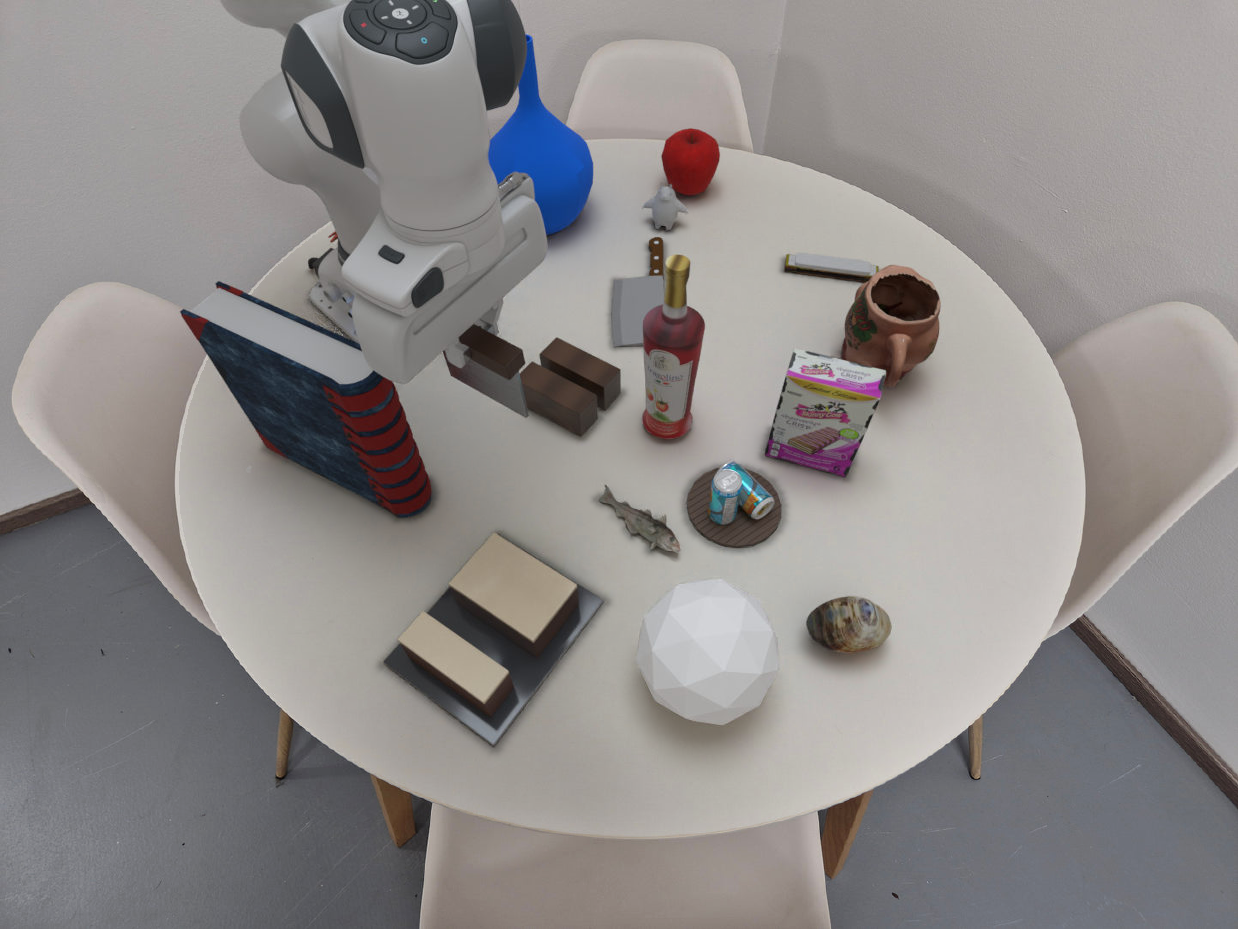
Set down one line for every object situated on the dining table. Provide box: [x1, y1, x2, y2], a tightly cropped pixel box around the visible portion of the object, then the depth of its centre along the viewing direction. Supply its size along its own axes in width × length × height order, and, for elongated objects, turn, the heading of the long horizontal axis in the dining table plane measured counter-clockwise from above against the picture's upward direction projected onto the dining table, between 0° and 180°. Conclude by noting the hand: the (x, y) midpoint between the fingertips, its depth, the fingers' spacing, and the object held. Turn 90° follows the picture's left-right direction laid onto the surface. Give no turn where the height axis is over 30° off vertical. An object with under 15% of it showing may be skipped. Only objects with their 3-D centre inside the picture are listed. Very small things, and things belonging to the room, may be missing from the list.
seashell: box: [805, 595, 893, 654], centre depth 84 cm, size 10×6×8 cm, turn 91°
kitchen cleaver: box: [611, 236, 665, 348], centre depth 120 cm, size 24×1×10 cm
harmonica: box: [783, 252, 880, 283], centre depth 122 cm, size 15×3×2 cm, turn 78°
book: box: [179, 280, 433, 519], centre depth 91 cm, size 25×7×25 cm, turn 61°
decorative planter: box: [841, 264, 942, 388], centre depth 105 cm, size 20×12×14 cm, turn 176°
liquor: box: [641, 254, 706, 440], centre depth 94 cm, size 7×7×28 cm
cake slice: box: [397, 610, 514, 717], centre depth 82 cm, size 12×4×5 cm, turn 56°
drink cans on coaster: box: [686, 459, 782, 549], centre depth 94 cm, size 12×12×8 cm
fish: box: [598, 484, 682, 553], centre depth 95 cm, size 13×4×5 cm
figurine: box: [641, 182, 689, 232], centre depth 127 cm, size 8×6×8 cm
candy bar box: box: [764, 347, 886, 478], centre depth 95 cm, size 11×5×16 cm, turn 71°
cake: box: [382, 532, 604, 747], centre depth 85 cm, size 16×20×6 cm
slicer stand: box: [519, 337, 622, 438], centre depth 106 cm, size 11×10×5 cm
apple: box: [661, 127, 721, 196], centre depth 131 cm, size 10×10×11 cm
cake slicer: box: [442, 324, 530, 419], centre depth 74 cm, size 10×2×9 cm, turn 56°
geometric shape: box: [635, 577, 780, 726], centre depth 79 cm, size 14×15×15 cm
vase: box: [488, 33, 594, 236], centre depth 119 cm, size 18×18×30 cm
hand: (473, 348), depth 71 cm, fingers closed on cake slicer, 2 cm apart
